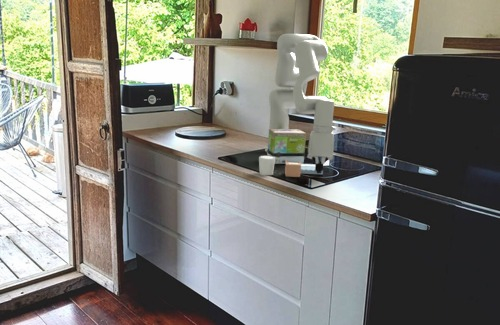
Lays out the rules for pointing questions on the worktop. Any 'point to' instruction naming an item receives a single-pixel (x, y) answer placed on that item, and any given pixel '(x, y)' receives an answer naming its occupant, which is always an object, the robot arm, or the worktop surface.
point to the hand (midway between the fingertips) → (318, 172)
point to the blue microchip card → (309, 169)
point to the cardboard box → (293, 169)
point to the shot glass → (266, 165)
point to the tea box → (286, 145)
